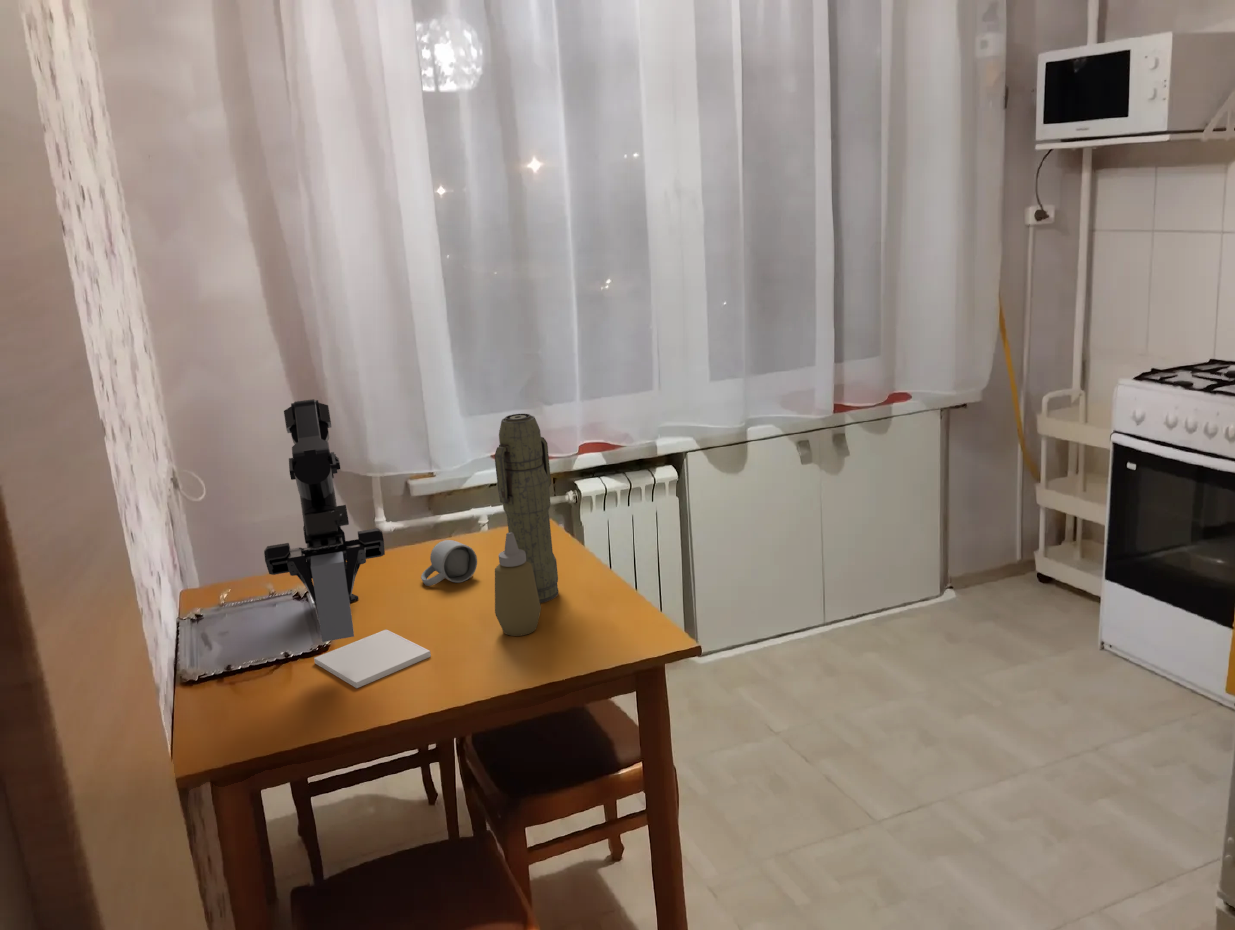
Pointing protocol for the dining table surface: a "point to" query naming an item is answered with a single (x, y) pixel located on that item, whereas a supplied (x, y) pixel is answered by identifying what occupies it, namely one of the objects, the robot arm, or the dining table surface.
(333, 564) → the tall block
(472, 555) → the ceramic mug
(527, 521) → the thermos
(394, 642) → the white plate
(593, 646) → the dining table surface
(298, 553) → the robot arm
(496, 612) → the squeeze bottle
